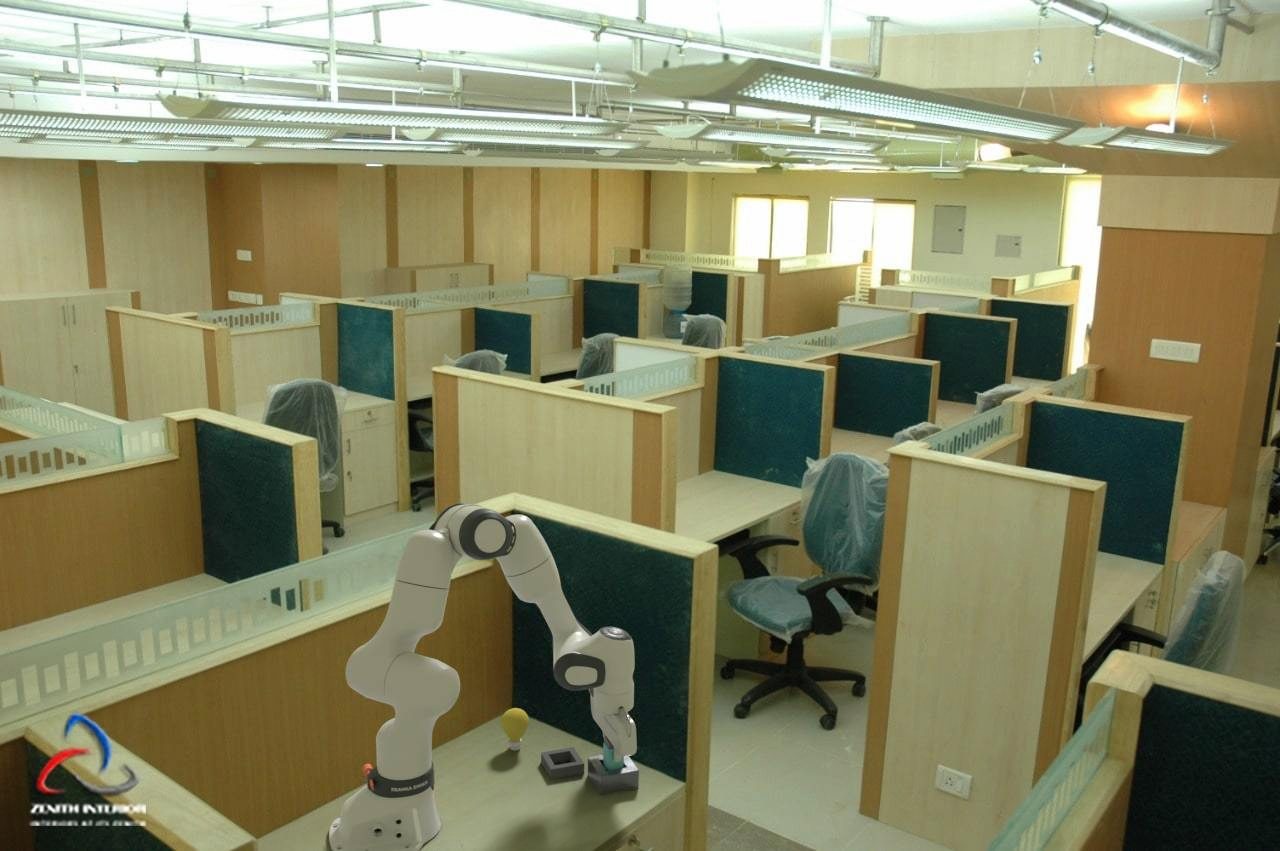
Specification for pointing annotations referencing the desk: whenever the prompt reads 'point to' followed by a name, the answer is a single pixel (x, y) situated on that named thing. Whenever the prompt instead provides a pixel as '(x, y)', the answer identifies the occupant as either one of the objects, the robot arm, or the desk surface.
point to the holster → (562, 769)
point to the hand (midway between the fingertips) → (613, 754)
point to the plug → (610, 757)
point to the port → (612, 776)
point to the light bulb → (515, 726)
